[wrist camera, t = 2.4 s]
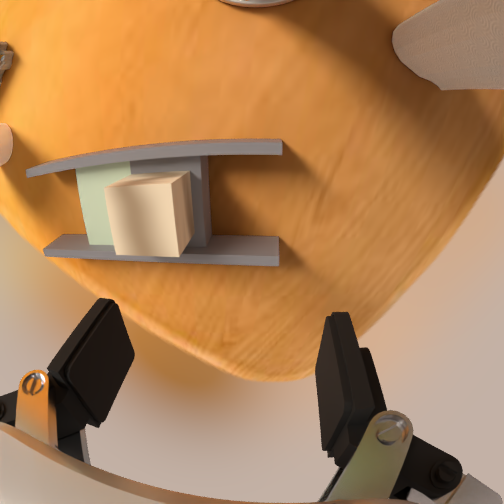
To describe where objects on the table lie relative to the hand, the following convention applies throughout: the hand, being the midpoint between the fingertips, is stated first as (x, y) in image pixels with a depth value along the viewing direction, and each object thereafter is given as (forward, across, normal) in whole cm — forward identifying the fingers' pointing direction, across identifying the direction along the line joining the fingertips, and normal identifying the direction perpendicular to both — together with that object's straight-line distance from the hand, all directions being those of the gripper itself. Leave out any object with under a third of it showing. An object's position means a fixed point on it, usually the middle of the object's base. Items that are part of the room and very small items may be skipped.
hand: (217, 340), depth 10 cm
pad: (+20, +15, 0) cm, 25 cm away
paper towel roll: (+20, -16, -17) cm, 31 cm away
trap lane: (+20, +11, 0) cm, 23 cm away
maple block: (+17, +8, 0) cm, 19 cm away
